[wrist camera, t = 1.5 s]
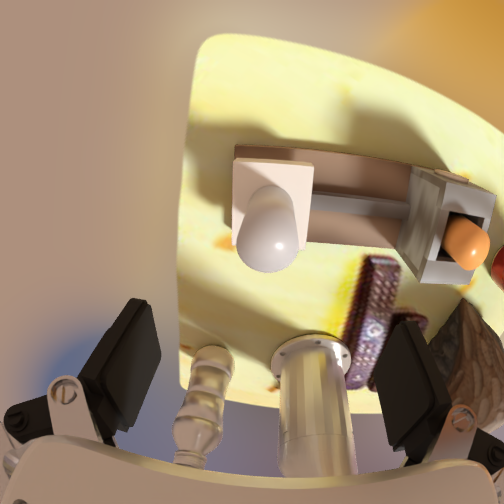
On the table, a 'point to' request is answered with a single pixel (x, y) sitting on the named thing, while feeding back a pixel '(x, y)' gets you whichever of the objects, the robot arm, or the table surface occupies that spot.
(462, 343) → the brown rock
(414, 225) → the rail base
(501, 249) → the soda can
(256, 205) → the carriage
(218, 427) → the plastic bottle
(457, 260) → the button
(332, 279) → the table surface
